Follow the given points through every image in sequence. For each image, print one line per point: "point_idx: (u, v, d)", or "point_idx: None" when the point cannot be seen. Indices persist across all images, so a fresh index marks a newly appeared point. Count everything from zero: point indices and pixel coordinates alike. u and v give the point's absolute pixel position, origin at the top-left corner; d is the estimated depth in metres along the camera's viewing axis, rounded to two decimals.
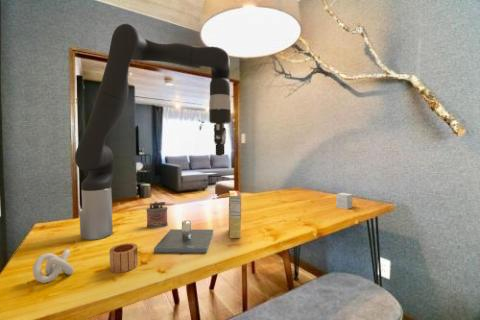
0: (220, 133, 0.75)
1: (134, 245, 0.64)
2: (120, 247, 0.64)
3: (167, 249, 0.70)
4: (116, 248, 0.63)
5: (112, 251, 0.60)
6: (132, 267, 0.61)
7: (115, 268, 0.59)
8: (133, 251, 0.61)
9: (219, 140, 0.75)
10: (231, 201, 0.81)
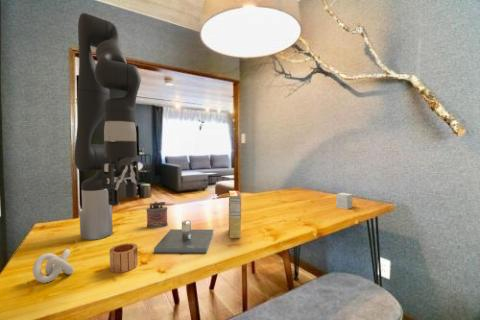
0: (109, 177, 0.54)
1: (134, 245, 0.64)
2: (120, 247, 0.64)
3: (167, 249, 0.70)
4: (116, 248, 0.63)
5: (112, 251, 0.60)
6: (132, 267, 0.61)
7: (115, 268, 0.59)
8: (133, 251, 0.61)
9: (108, 186, 0.54)
10: (231, 201, 0.81)
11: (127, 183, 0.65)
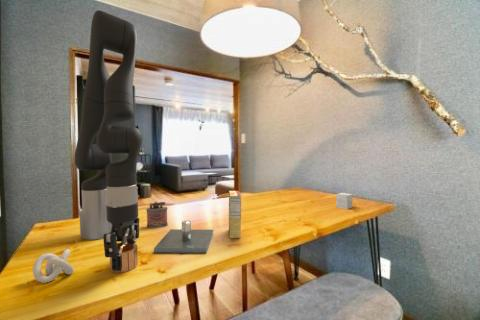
0: (112, 247, 0.55)
1: (134, 245, 0.64)
2: None
3: (167, 249, 0.70)
4: None
5: None
6: (132, 267, 0.61)
7: None
8: (133, 251, 0.61)
9: (112, 255, 0.56)
10: (231, 201, 0.81)
11: (127, 242, 0.65)
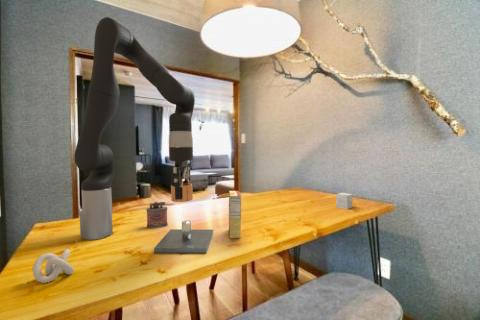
0: (177, 177, 0.68)
1: (189, 183, 0.77)
2: None
3: (167, 249, 0.70)
4: None
5: None
6: (189, 199, 0.74)
7: None
8: (190, 186, 0.74)
9: (177, 184, 0.69)
10: (231, 201, 0.81)
11: (182, 182, 0.79)
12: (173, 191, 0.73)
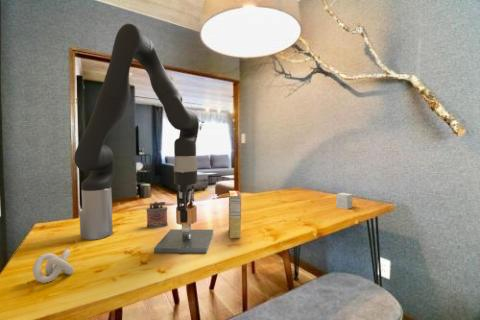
0: (183, 202, 0.71)
1: (193, 205, 0.79)
2: None
3: (167, 249, 0.70)
4: None
5: None
6: (194, 221, 0.76)
7: None
8: (195, 208, 0.76)
9: (182, 209, 0.71)
10: (231, 201, 0.81)
11: None
12: (178, 214, 0.75)
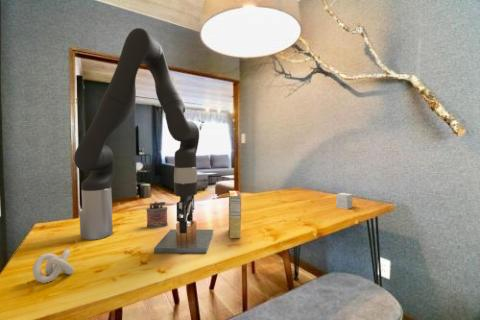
0: (183, 212, 0.70)
1: (193, 221, 0.79)
2: None
3: (167, 249, 0.70)
4: None
5: None
6: (194, 238, 0.76)
7: (182, 238, 0.75)
8: (195, 225, 0.77)
9: (182, 220, 0.70)
10: (231, 201, 0.81)
11: None
12: (178, 231, 0.75)
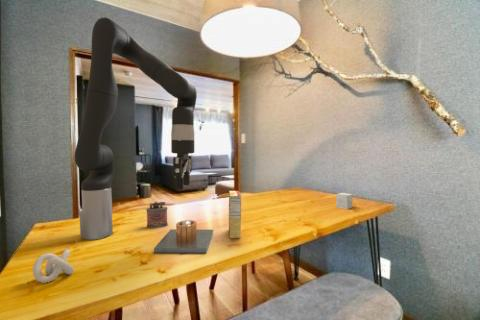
0: (179, 167, 0.70)
1: (193, 221, 0.79)
2: None
3: (167, 249, 0.70)
4: (179, 223, 0.78)
5: (179, 225, 0.76)
6: (194, 238, 0.76)
7: (182, 238, 0.75)
8: (195, 225, 0.77)
9: (178, 174, 0.71)
10: (231, 201, 0.81)
11: (184, 173, 0.82)
12: (178, 231, 0.75)
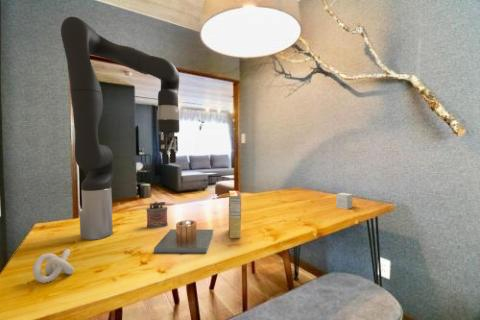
0: (164, 143, 0.77)
1: (193, 221, 0.79)
2: None
3: (167, 249, 0.70)
4: (179, 223, 0.78)
5: (179, 225, 0.76)
6: (194, 238, 0.76)
7: (182, 238, 0.75)
8: (195, 225, 0.77)
9: (163, 150, 0.77)
10: (231, 201, 0.81)
11: (170, 152, 0.89)
12: (178, 231, 0.75)
